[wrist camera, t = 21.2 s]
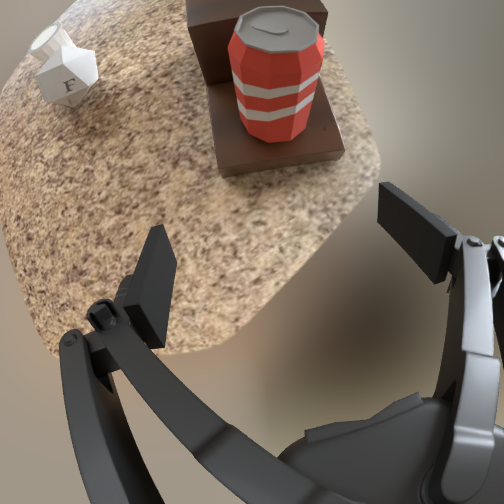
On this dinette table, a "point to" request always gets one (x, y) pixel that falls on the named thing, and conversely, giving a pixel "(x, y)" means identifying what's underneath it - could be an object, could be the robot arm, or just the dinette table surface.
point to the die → (67, 75)
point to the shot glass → (49, 42)
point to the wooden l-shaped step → (225, 101)
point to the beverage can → (275, 70)
